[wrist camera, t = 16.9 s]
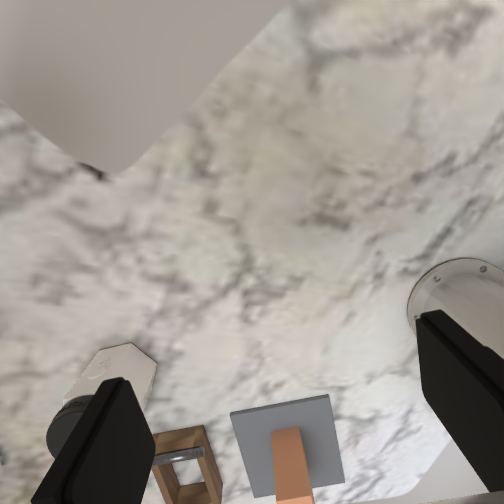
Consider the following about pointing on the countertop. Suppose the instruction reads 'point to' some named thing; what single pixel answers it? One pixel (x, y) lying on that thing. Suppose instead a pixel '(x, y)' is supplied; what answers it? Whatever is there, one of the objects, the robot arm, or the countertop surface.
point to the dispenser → (180, 449)
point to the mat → (312, 434)
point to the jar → (99, 369)
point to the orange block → (290, 468)
